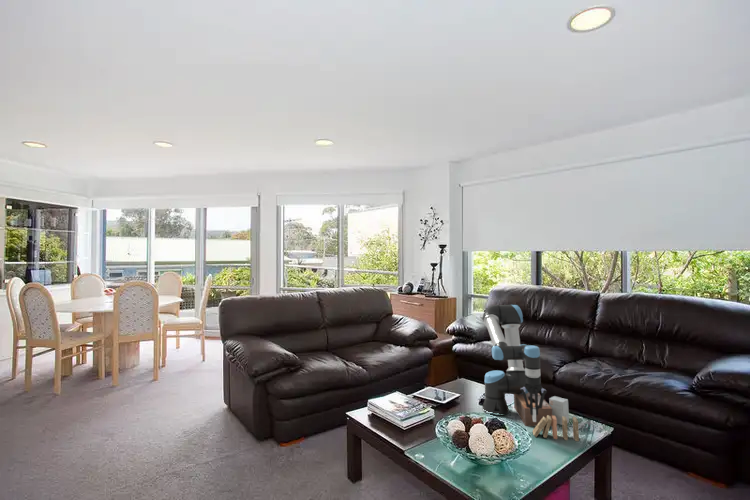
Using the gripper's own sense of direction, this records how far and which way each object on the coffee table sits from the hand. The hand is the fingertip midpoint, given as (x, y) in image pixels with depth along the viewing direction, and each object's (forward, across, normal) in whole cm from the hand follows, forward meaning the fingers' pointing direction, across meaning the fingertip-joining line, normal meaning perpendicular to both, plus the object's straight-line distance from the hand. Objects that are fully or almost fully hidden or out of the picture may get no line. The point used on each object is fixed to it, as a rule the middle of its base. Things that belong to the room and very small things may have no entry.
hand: (534, 420), depth 206 cm
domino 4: (+8, +20, 0) cm, 21 cm away
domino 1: (+7, 0, 0) cm, 7 cm away
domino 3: (+8, +15, 0) cm, 16 cm away
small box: (+8, +15, +20) cm, 26 cm away
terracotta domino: (+8, +10, 0) cm, 12 cm away
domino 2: (+7, +5, 0) cm, 9 cm away
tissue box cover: (+8, +1, +24) cm, 26 cm away
